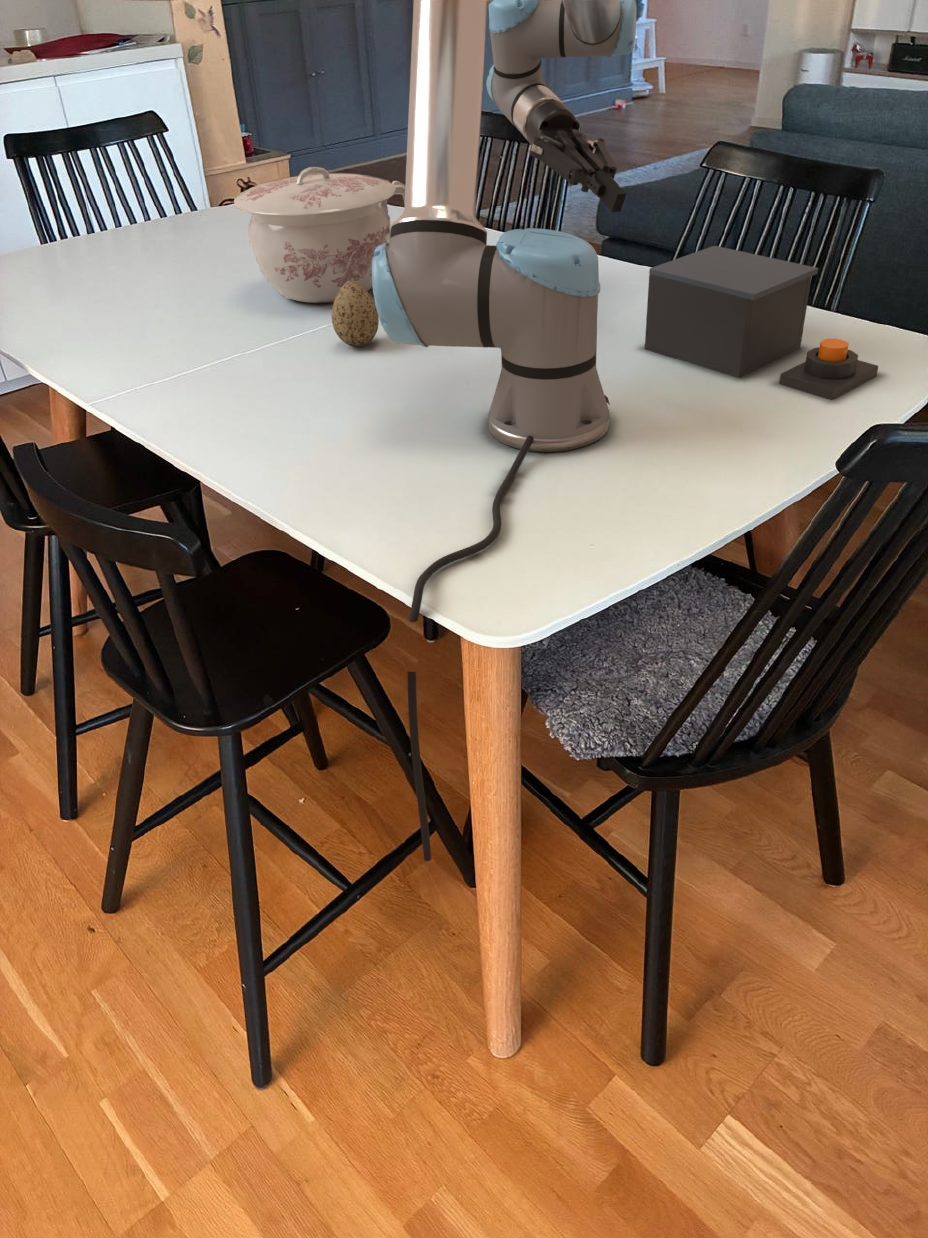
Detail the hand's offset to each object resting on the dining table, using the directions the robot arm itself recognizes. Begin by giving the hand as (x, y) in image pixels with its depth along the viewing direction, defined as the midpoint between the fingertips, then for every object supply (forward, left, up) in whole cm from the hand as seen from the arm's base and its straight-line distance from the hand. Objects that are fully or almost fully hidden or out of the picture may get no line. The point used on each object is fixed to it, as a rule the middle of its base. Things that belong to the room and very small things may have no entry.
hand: (618, 202), depth 140 cm
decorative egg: (-4, +40, -19) cm, 44 cm away
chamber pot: (+23, +50, -19) cm, 58 cm away
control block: (-20, -28, -19) cm, 39 cm away
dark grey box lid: (-8, -16, -8) cm, 19 cm away
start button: (-20, -28, -16) cm, 38 cm away
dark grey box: (-8, -15, -19) cm, 26 cm away
